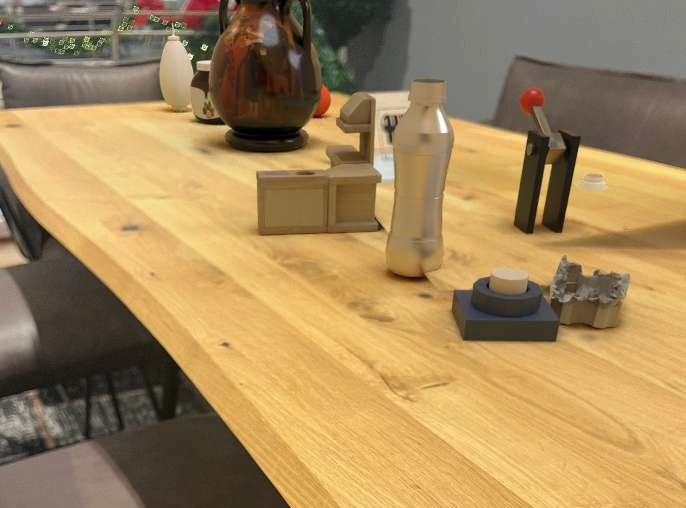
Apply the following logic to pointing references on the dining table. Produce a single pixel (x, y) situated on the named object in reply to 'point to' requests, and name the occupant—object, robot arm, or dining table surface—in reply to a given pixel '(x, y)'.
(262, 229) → the toy kitchen set
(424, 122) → the plastic bottle
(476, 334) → the control block
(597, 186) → the lidless jar
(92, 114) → the dining table surface
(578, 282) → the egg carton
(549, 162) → the lever
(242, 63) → the amphora vase
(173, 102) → the sauce bottle
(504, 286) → the button
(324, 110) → the clementine
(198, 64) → the spread jar
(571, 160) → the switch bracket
